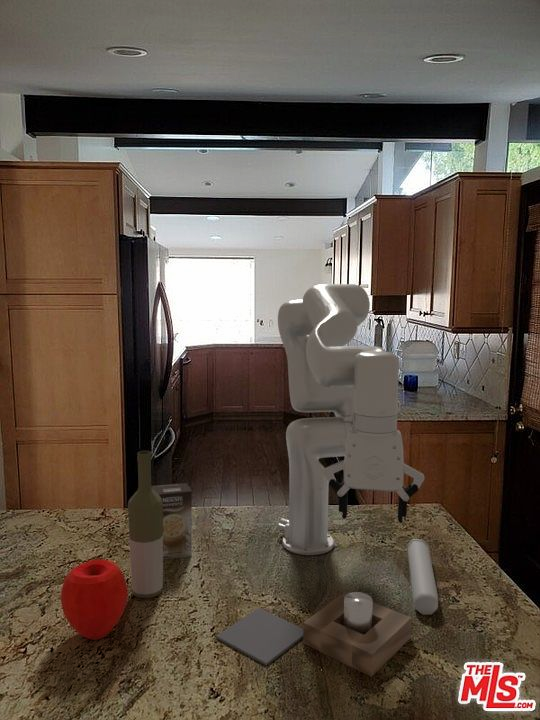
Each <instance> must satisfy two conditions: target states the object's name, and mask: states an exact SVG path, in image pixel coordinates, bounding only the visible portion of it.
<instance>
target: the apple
mask: <svg viewBox="0 0 540 720" xmlns="http://www.w3.org/2000/svg"><path fill="white" fill-rule="evenodd" d="M60 591H61V592H60V603H61V609H62V613H63V615H64V617H65V619H66V620H67V622H68V623H69V624H70V626H71V627H72V628H73V629H74V631H76V632H77V633H78V634H79V635H80V636H83V637H84V638H86V639H88V640H94V641H95V640H101V639H103V638H105V637H106V636H107V635H109V634H110V633H111V632H112V630H113V629H114V628H115V626H116V625H117V624H118V623H119V620H120V619H121V618H122V616H123V614H124V612H125V609H126V605H127V602H128V585H127V581H126V578H125V574H124V572H122V570H121V568H120V567H119V566H118V565H117V564H116V563H115V562H113V561H110V560H107V559H102V558H101V559H100V558H96V559H95V558H94V559H91V560H88V561H86V562H83V563H81V564H79V565H76V566H74V567H73V568H72V569H71V570H70V571H69V572H68V574H67V575H66V577H65V578H64V581H63V584H62V587H61V590H60Z"/></svg>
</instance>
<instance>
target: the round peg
mask: <svg viewBox="0 0 540 720" xmlns="http://www.w3.org/2000/svg"><path fill="white" fill-rule="evenodd" d="M373 602H374V601H373V598H372V596H370V595H369V594H368V593H364V592H359V591H353V592H349V594H347V595H346V596H345V598H344V626H345V627H347V628H350V629H352V630H354V631H356V632H359V633H361V634H363V635H365V634H366V633H367V632H368V631H369V630H370V629H372V605H373Z"/></svg>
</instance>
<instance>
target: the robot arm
mask: <svg viewBox="0 0 540 720" xmlns="http://www.w3.org/2000/svg"><path fill="white" fill-rule="evenodd" d="M370 306H371V302H370V298H369V295H368V293H367V291H366V290H365V289H364V287H362V286H360V285H359V284H358V285H357V284H355V283H351V284H349V283H345V284H343V283H322V284H317V285H313V286H312V287H310V288H308V289H307V290H306V291H305V293H304V294H303V296H302V299H293V300H288V301H286V302H284V303H282V304H281V305H280V307H279V308H278V311H277V312H278V313H277V326H278V332H279V336H280V339H281V342H282V344H283V347H284V350H285V354H286V359H287V370H288V371H287V373H288V374H287V375H288V376H287V377H288V388H289V398H290V400H289V401H290V404H291V407H292V408H293V410H294V411H296V412H299V413H329V412H330V413H331V412H332V413H334V415H335V416H330V417H329V416H328V417H321V416H320V417H306V418H299V419H296V420H293V421H291V422H290V423H289V424H288V426H287V428H286V431H285V439H286V440H285V441H286V447H287V455H288V465H289V466H288V467H289V472H288V473H289V481H288V482H289V483H288V485H289V488H288V490H289V491H288V492H289V494H288V497H289V498H288V499H289V501H288V502H289V503H288V519H287V518H284V517H282V518H280V520H279V523H278V524H277V529H279V530H282V531H284V532H285V533H284V534H285V535H284V536H283V537H282V541H281V542H282V546H283V547H284V549H286V550H287V551H289V552H291V553H294V554H297V555H302V556H317V555H323V554H325V553H328V552H330V551H331V550H332V549H333V548H334V546H335V545H334V544H335V543H334V542H335V541H334V539H333V537H332V536H331V535H330V534H329V533H328V531H329V530H328V527H329V526H328V525H329V524H328V523H329V487H331V488H332V490H334V492H335V493H336V495H337V496H338V512H339V513H342V517H341V518H342V519H344V520H346V519H347V516H348V504H349V503H348V500H349V499H348V495H349V493H348V491H349V490H350V489H353V490H360V491H376V492H396V493H397V494H398V499H397V522H398V523H399V524H403V517H404V518H406V517H407V512H408V508H407V507H408V501H409V499H410V498H412V496H414V495H415V494H417V492H418V491H419V489H420V487H421V486H422V484H423V483H424V481H425V475H424V473H422V472H421V471H420V470H417V469H415V468H414V467H411V466H410V465H408V464H406V463H405V462H404V461H405V460H404V444H403V437H402V433H401V431H400V430H398V409H399V408H398V407H399V406H398V405H399V404H398V403H399V402H398V400H399V373H400V372H399V371H400V369H399V368H400V360H399V358H398V356H397V355H396V354H395V353H392V352H391V351H390V352H389V351H387V350H385V348H383V347H381V346H375V345H362V346H359V345H349V346H348V345H347V344H349V343H350V342H351V341H352V340H353V339H354V337H355V336H356V335H357V332H358V331H357V330H358V326H360V325H361V324H362V323H363V322H365V320H366V319H367V317H368V315H369V313H370ZM345 345H347V346H345ZM335 457H344V459H343V460H340V461H338V462H336V463H333V464H330V465H329V466H327V467H325V466H323V464H322V463H321V462H320V461H319V459H323V458H324V459H325V458H335ZM342 470H343V481H342V482H340V481H339V480H338V479H337V478H336V477H335V474H336V473H338V472H340V471H342ZM405 474H406V475H407V476H409V477H411V478H412V479H413V481H412V483H410V484H409V485H408V486H407V487H405V485H404V476H405Z"/></svg>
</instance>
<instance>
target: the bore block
mask: <svg viewBox="0 0 540 720" xmlns="http://www.w3.org/2000/svg"><path fill="white" fill-rule="evenodd" d="M349 593H350V592H348V591H344V592H343V593H342V594H340V595H339V596H338V597H336V598H335V599H334V600H332V601H331V602H330V603H328V604H327V605H325V606H324V607H322V608H321V609H320V610H318V611H317V612H316V613H315V614H313V615H311V617H309V618H308V619H306V620H305V621H303V624H302V625H303V626H302V628H303V638H302V644H303V643H304V645H305V644H306V645H305V646H307V645H308V646H307V647H309V646H310V647H309V648H311V647H312V648H311V649H313V648H314V649H313V650H315V649H316V651H318V652H320V653H322V654H323V655H326V656H327V657H330V658H332V659H333V660H336V661H338V662H340V663H341V664H344V665H346V666H348V667H351V668H352V669H355V670H357V671H358V672H360V673H362V674H365V675H367V676H369V677H370V678H372V677H373V676H374V675H375V674H376V673H378V672H379V670H380V669H381V668H382V667H383V666H384V665H385V664H386V663H387V662H388V661H389V660H390V659H392V657H394V655H395V654H396V653H398V652H399V651H400V649H401V648H402V647H403V646H405V644H406V643H408V642H409V641H410V640H411V637H412V617H411V616H409V615H406V614H404V613H401V612H399V611H396V610H394V609H392V608H391V609H390V608H388V607H386V606H384V605H381V604H378V603H376V602H374V601H373V605H372V629H370V630H369V631H368V632H367V633H366V634H365V635H363V634H361V633H359V632H356V631H354V630H352V629H350V628H347V627H345V626H344V598H345V596H346V595H347V594H349Z"/></svg>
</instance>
